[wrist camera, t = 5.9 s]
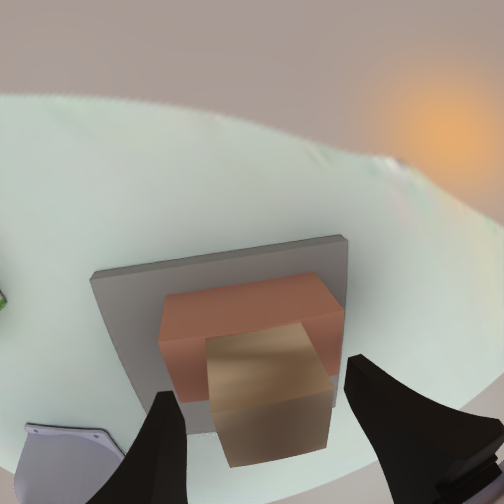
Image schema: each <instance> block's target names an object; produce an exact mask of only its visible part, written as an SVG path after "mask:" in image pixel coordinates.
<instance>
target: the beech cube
mask: <svg viewBox="0 0 504 504" xmlns="http://www.w3.org/2000/svg"><path fill="white" fill-rule="evenodd" d="M205 340H206V357H207V373H208V387H209V400H210V412H211V416H212V419H213V422H214V425H215V428H216V431H217V433H218V436H219V439H220V442H221V445H222V447H223V450H224V453H225V456H226V458H227V461H228V464H229V466H230V468H232V467H239V466H246V465H252V464H258V463H263V462H269V461H274V460H279V459H283V458H288V457H292V456H297V455H301V454H305V453H309V452H313V451H316V450H320V449H324V448H326V446H327V440H328V433H329V427H330V420H331V413H332V405H333V397H334V389H335V388H334V386H333V384H332V382H331V380H330V378H329V376H328V374H327V372H326V371H325V369H324V367H323V365H322V363H321V361H320V359H319V357H318V355H317V353H316V351H315V349H314V347H313V345H312V343H311V341H310V339H309V337H308V335H307V333H306V332H305V330H304V328H303V326H302V324H301V322H297V323H292V324H287V325H282V326H276V327H271V328H266V329H260V330H254V331H249V332H243V333H237V334H230V335H224V336H218V337H211V338H205Z"/></svg>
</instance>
